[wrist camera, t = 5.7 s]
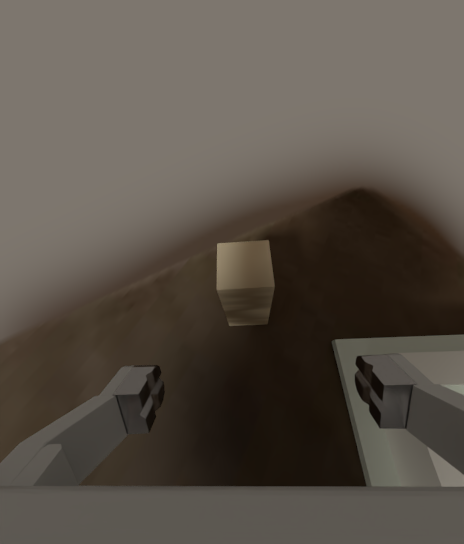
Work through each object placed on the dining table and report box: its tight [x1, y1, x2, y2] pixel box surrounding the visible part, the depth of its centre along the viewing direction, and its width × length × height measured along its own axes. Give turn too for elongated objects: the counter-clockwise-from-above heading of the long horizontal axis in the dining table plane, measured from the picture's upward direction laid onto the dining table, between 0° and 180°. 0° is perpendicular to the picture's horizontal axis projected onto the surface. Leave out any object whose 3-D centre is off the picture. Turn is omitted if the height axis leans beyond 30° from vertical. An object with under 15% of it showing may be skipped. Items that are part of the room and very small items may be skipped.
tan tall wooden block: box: [217, 240, 275, 326], centre depth 20 cm, size 4×4×9 cm
